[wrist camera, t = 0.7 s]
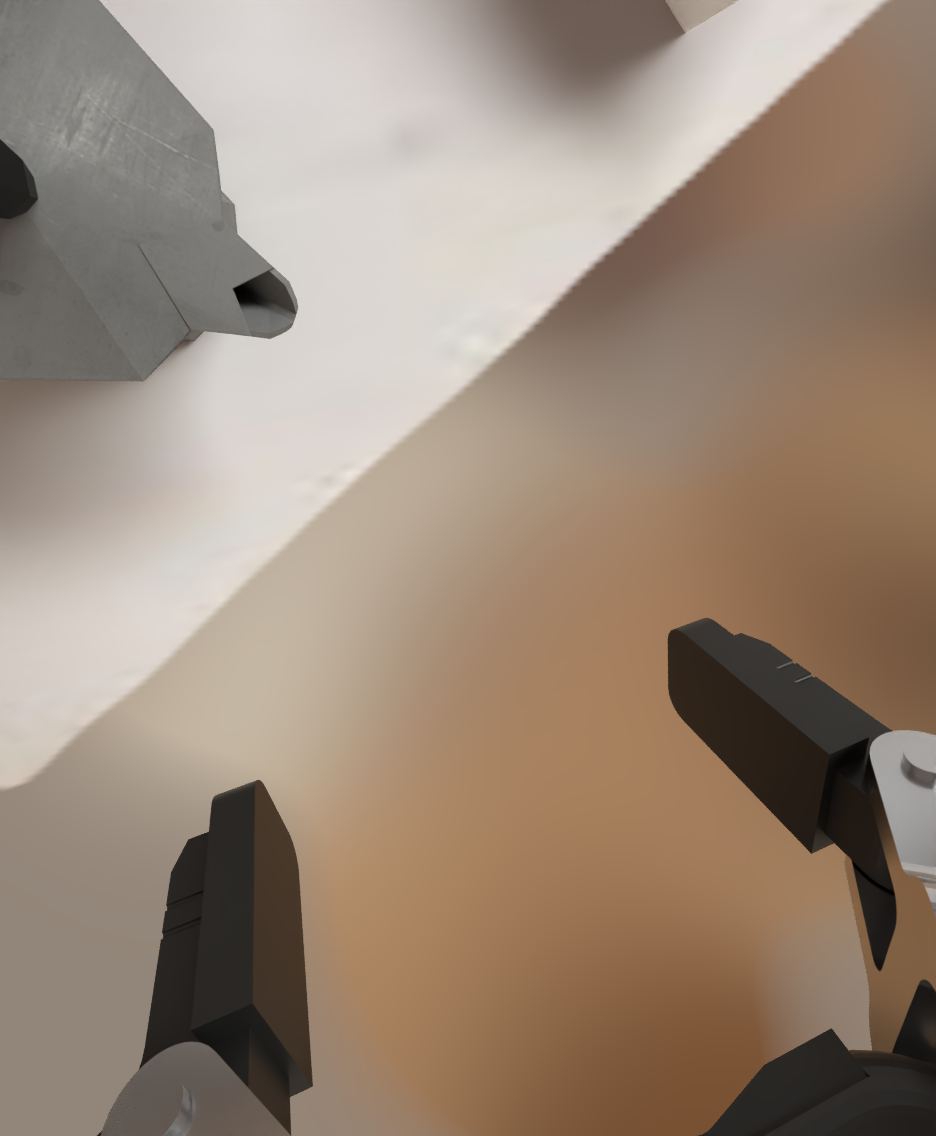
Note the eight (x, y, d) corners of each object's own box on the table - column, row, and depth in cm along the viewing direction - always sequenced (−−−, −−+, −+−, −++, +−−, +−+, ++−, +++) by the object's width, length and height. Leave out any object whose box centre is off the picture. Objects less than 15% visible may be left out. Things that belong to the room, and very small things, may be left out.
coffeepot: (313, 212, 29) (372, 118, 13) (253, 394, 31) (243, 494, 16) (-85, -8, 22) (-913, -727, 6) (-121, 245, 24) (-779, 167, 9)
